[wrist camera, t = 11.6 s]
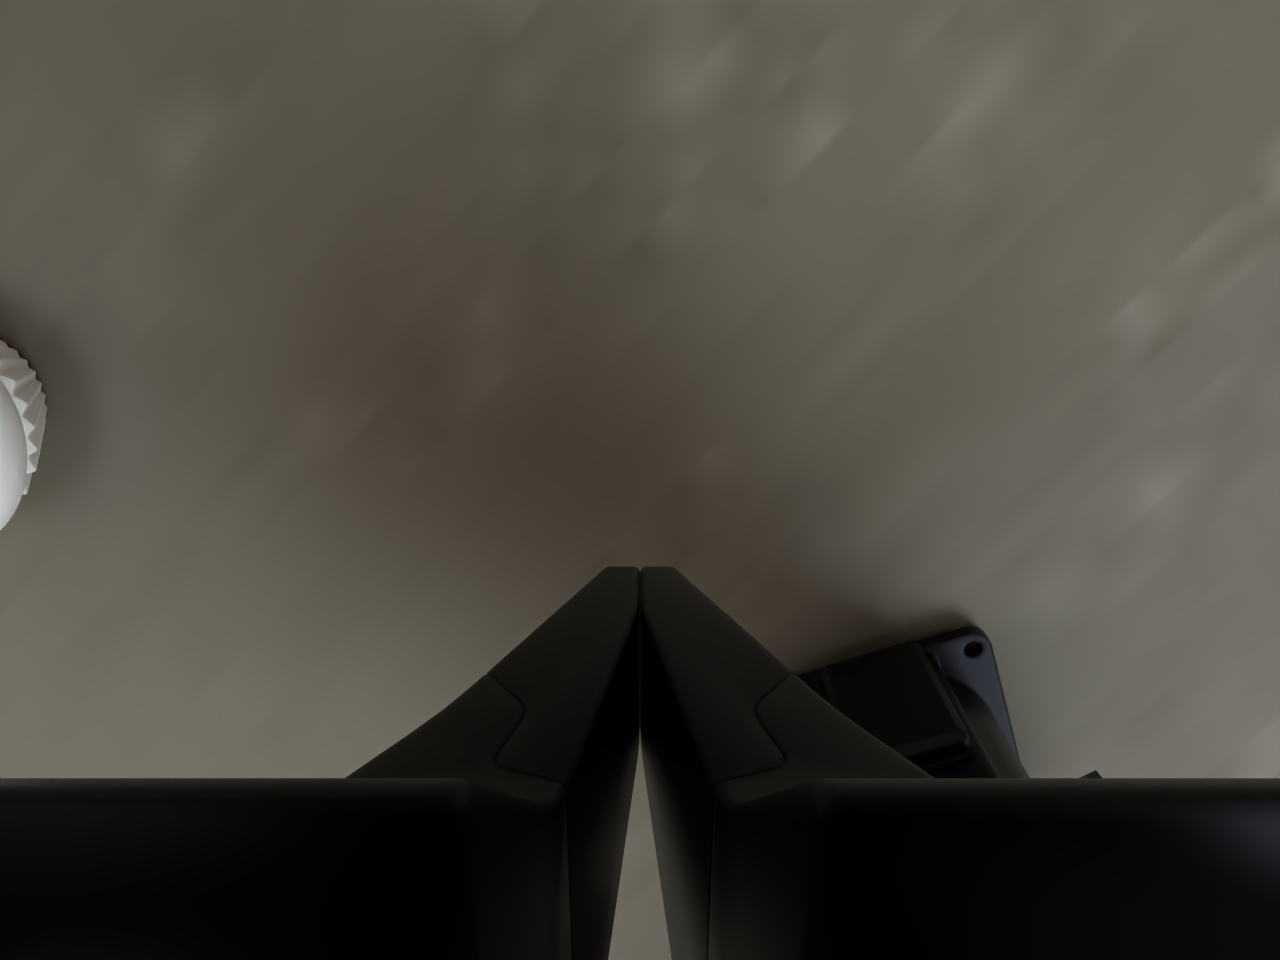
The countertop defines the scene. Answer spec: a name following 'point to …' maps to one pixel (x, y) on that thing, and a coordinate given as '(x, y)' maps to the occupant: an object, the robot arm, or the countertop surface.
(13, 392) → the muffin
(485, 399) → the countertop surface
